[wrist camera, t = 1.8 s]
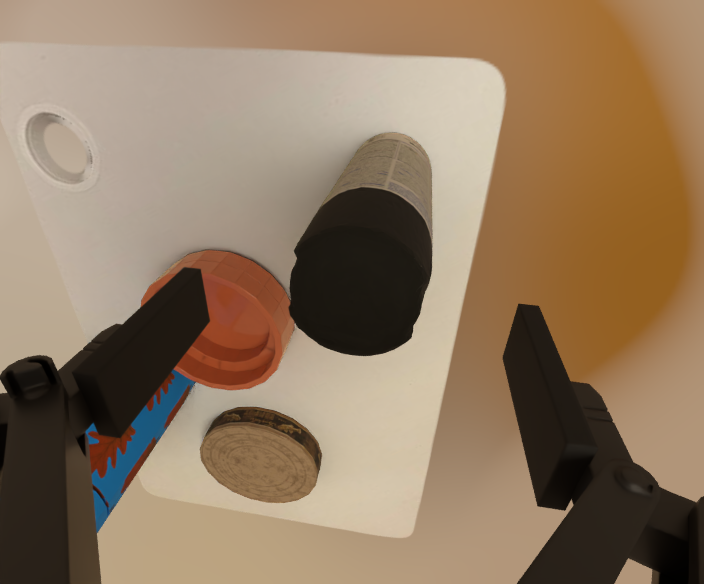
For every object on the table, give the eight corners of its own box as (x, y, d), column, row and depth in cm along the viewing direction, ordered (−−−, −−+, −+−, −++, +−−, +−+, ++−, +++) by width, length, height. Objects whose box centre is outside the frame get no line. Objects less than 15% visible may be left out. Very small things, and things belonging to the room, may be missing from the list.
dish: (154, 240, 42) (123, 264, 37) (292, 255, 40) (276, 281, 36) (181, 350, 49) (158, 380, 45) (298, 366, 48) (285, 398, 44)
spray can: (345, 201, 36) (273, 344, 20) (359, 120, 33) (285, 210, 16) (419, 218, 36) (411, 377, 19) (442, 138, 32) (456, 249, 16)
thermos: (151, 315, 47) (-71, 541, 26) (215, 378, 51) (67, 618, 30) (98, 350, 52) (-128, 566, 31) (160, 405, 55) (-2, 631, 34)
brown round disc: (334, 429, 52) (329, 449, 50) (308, 495, 61) (303, 515, 59) (214, 391, 52) (204, 410, 50) (205, 463, 61) (196, 481, 58)
